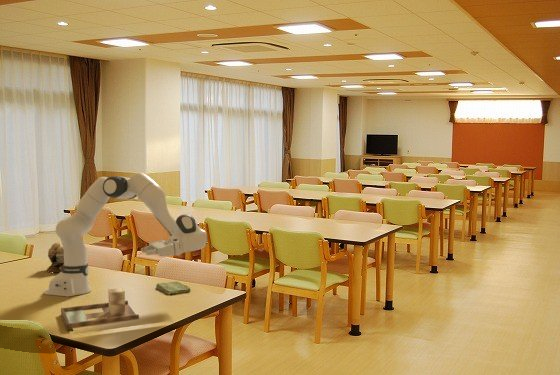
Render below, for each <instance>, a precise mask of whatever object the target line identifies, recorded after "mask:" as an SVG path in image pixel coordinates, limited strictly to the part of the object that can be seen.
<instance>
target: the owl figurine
mask: <svg viewBox="0 0 560 375" xmlns="http://www.w3.org/2000/svg"><path fill="white" fill-rule="evenodd" d="M47 252H48V253H47V254H48V255H47V257H48V259H49V260H50V261H49V262H50V263H51V264H50V266H48V267H47V269H46V271H47V272H48V271H49V272H48V273H50V272H53V273H52V274H56V273H58V274H59V273H60V272H61V269H60V268H59V267H61V266H62V265H63V264H64V250H63V245H62V246H61V243H60V242H54V243H53V244H52V245H51V247H50V248H48V251H47Z"/></svg>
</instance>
